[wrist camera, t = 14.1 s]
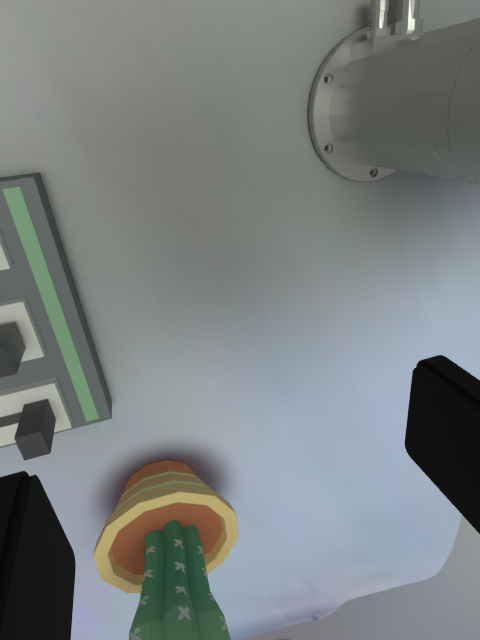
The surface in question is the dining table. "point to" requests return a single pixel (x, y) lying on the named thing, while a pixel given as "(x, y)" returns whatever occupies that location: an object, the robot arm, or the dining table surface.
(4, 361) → the breaker handle
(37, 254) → the breaker panel
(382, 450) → the dining table surface
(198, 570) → the potted cactus
